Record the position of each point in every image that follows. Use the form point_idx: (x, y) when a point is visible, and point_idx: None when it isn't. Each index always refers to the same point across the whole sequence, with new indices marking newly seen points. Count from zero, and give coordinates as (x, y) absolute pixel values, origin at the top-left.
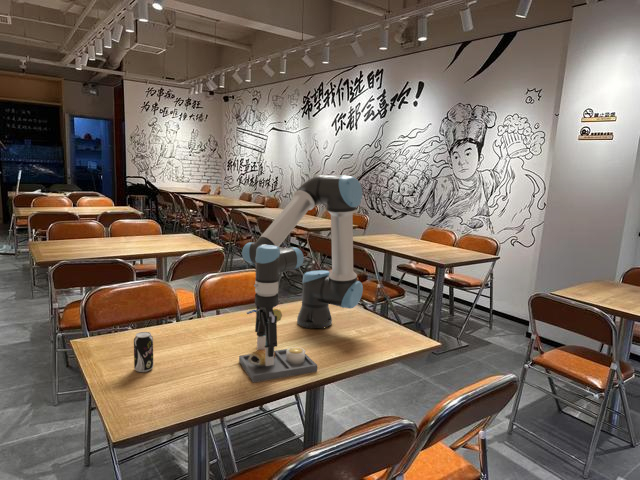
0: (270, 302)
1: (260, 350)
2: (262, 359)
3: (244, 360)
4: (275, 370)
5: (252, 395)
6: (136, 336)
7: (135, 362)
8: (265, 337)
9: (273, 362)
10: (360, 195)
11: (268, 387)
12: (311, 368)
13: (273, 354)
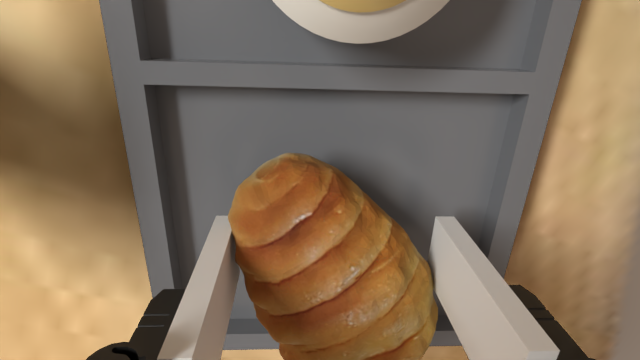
0: None
1: (318, 333)
2: (434, 324)
3: (249, 339)
4: (444, 183)
5: (578, 343)
6: None
7: None
8: (197, 348)
9: (461, 229)
10: None
11: (561, 261)
12: None
13: (497, 278)
